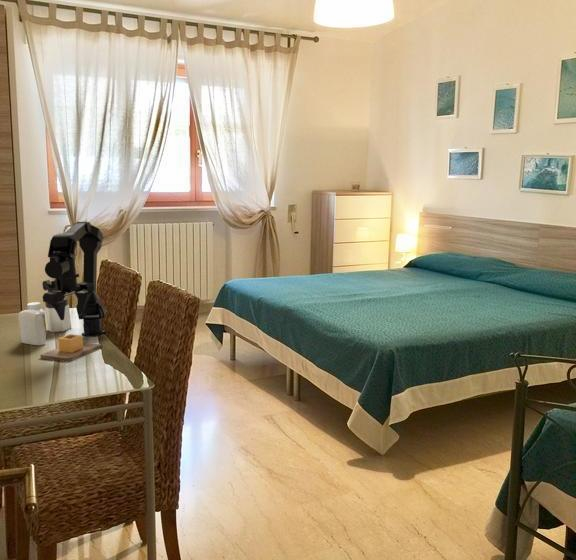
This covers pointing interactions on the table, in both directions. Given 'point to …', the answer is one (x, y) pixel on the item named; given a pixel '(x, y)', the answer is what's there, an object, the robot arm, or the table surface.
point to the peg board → (69, 356)
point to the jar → (57, 318)
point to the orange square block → (70, 343)
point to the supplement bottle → (36, 307)
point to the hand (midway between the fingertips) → (72, 316)
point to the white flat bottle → (31, 327)
